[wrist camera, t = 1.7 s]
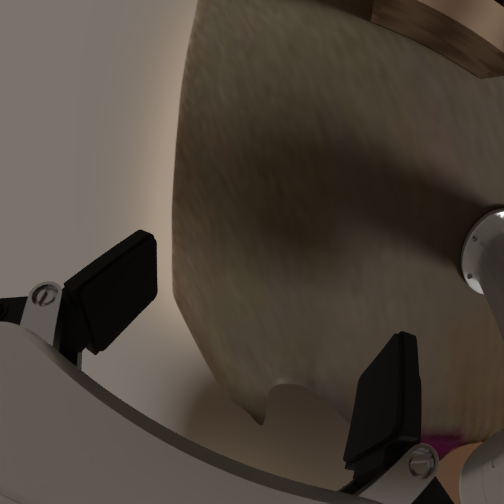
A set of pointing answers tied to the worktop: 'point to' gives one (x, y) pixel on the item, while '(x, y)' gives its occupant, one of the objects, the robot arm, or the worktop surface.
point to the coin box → (451, 29)
